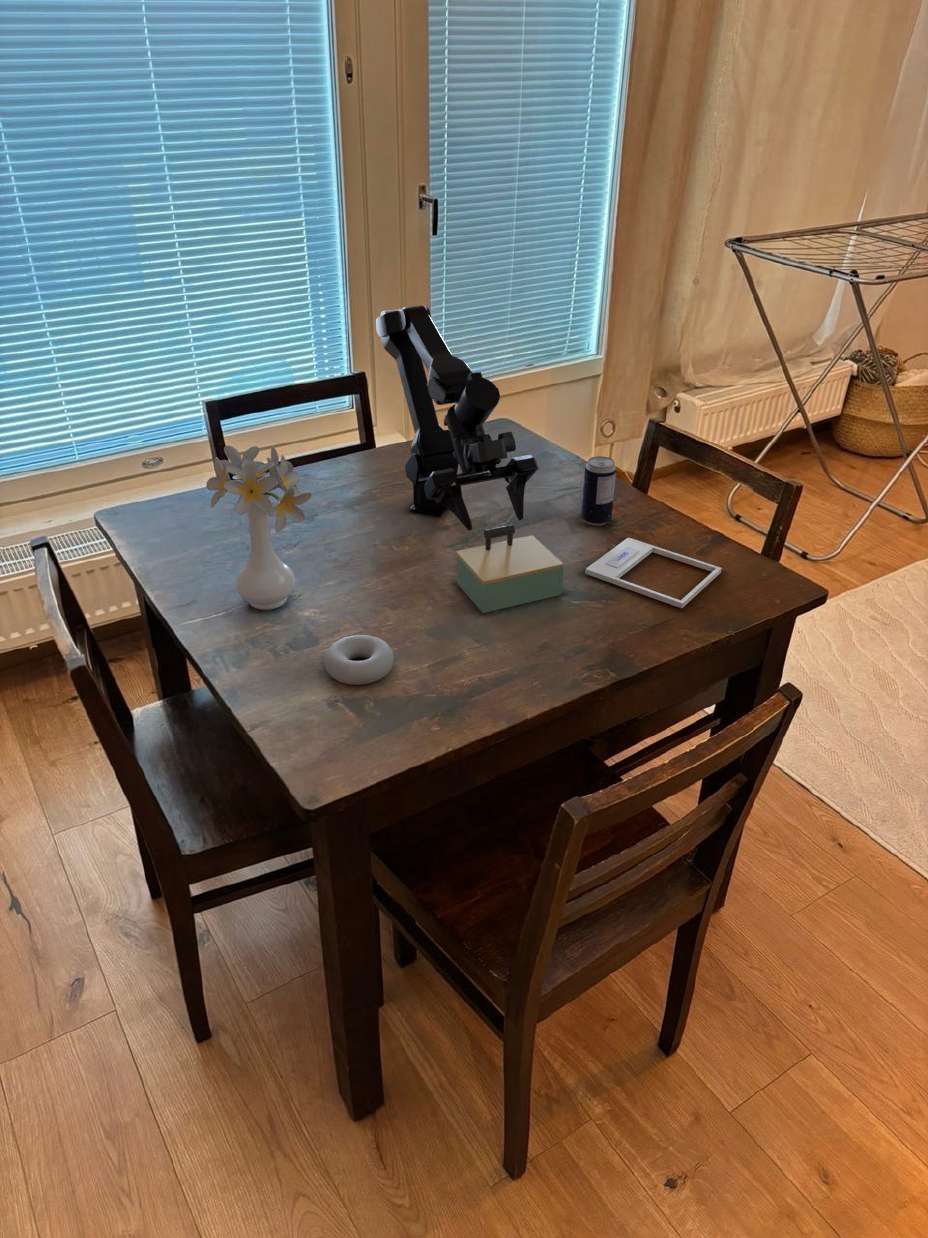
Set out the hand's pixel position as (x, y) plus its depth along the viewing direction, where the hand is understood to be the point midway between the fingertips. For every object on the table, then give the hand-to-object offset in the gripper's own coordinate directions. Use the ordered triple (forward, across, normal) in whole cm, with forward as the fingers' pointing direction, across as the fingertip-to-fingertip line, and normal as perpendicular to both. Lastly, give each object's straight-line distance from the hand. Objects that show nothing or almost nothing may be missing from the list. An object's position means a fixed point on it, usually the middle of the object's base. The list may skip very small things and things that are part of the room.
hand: (496, 524), depth 151 cm
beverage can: (-1, +26, +14) cm, 30 cm away
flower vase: (+2, -36, +11) cm, 38 cm away
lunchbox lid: (+6, 0, -1) cm, 7 cm away
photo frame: (+14, +25, -1) cm, 28 cm away
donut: (+19, -30, -5) cm, 36 cm away
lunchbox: (+10, 0, +3) cm, 11 cm away
